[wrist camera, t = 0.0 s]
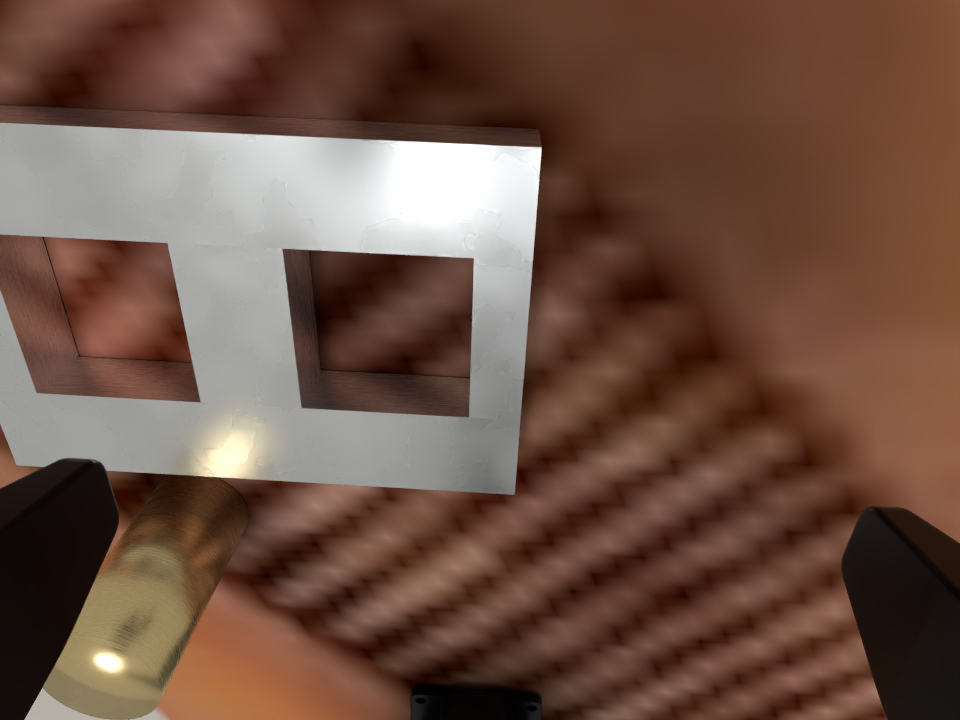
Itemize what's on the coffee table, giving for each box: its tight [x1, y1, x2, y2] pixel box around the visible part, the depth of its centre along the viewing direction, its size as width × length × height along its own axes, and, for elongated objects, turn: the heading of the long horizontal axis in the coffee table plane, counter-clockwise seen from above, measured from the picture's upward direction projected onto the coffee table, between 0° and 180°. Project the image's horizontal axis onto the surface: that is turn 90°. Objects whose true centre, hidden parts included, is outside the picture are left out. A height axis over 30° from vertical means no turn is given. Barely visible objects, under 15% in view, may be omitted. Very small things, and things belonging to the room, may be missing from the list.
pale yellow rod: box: [43, 474, 249, 720], centre depth 25 cm, size 4×4×8 cm
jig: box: [0, 105, 542, 495], centre depth 22 cm, size 12×18×2 cm, turn 88°
